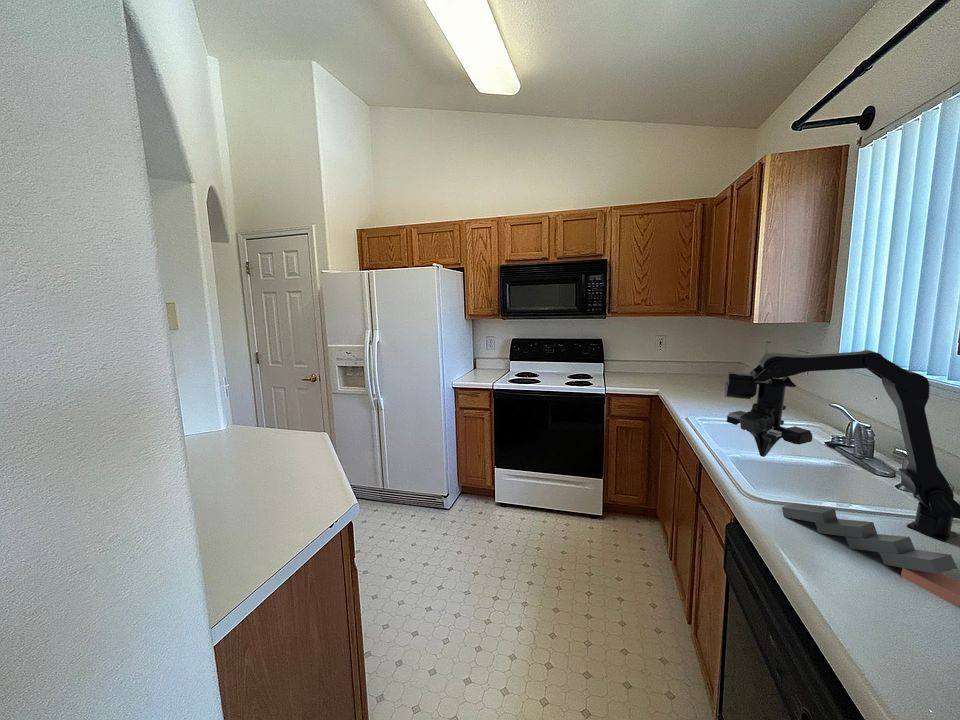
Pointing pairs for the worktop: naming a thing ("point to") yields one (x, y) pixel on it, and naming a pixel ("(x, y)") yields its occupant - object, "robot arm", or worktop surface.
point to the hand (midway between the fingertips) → (762, 456)
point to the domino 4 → (920, 561)
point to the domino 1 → (809, 513)
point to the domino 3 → (882, 543)
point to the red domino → (935, 584)
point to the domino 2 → (847, 528)
